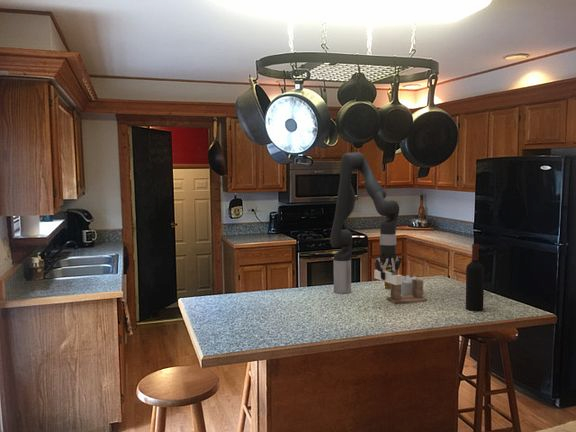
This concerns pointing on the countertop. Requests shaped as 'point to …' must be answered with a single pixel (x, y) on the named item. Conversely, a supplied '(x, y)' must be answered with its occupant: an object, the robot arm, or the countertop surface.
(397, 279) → the frame bar
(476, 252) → the wine bottle
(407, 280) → the paw print tray
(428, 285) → the countertop surface
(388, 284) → the condiment
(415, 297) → the stand
